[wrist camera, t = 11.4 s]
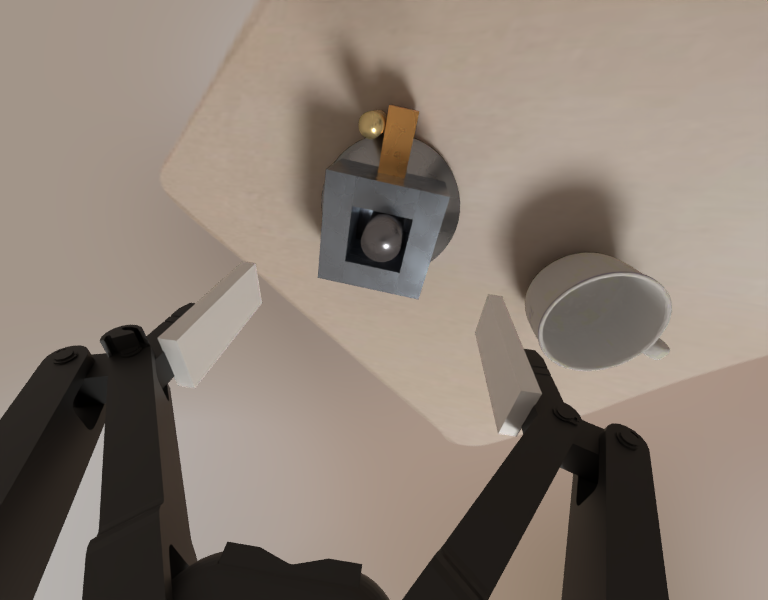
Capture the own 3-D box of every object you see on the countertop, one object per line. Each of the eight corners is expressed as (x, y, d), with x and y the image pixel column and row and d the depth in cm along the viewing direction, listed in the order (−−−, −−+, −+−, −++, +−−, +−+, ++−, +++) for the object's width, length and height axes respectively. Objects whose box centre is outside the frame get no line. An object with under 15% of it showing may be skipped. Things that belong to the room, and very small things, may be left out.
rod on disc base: (400, 95, 26) (393, 93, 18) (486, 222, 31) (505, 258, 24) (295, 200, 31) (259, 229, 24) (382, 291, 37) (372, 337, 29)
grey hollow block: (418, 272, 34) (418, 299, 29) (331, 253, 34) (317, 277, 29) (462, 121, 26) (472, 125, 21) (347, 94, 25) (331, 93, 21)
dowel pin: (379, 104, 26) (371, 105, 22) (392, 123, 27) (387, 127, 23) (363, 120, 27) (353, 123, 23) (377, 137, 28) (369, 144, 23)
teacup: (496, 290, 35) (514, 334, 28) (580, 217, 30) (627, 251, 23) (574, 349, 39) (606, 400, 32) (662, 293, 33) (722, 341, 27)
